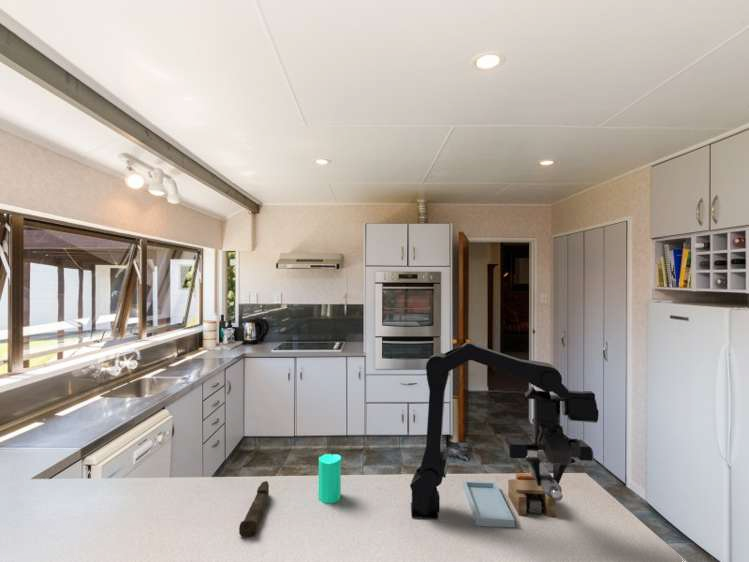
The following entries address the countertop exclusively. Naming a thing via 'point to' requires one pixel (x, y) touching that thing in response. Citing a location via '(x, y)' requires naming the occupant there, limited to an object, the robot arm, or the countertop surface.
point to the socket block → (519, 499)
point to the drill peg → (548, 484)
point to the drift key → (530, 495)
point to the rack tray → (487, 504)
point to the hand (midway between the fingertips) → (547, 485)
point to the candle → (329, 478)
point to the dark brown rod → (255, 512)
